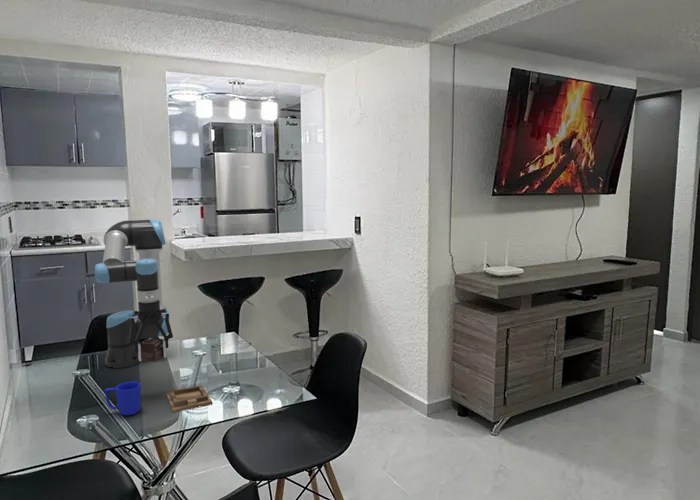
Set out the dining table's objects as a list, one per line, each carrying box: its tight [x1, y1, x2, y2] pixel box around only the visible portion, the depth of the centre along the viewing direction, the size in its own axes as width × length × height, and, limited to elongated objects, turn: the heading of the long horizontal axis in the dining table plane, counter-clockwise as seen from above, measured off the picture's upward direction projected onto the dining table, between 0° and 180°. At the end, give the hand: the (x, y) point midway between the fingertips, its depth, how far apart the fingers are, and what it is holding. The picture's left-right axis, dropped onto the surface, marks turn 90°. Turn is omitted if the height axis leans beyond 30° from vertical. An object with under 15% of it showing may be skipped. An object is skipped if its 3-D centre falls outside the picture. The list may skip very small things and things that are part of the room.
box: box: [139, 337, 164, 363], centre depth 197 cm, size 6×6×7 cm
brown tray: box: [165, 385, 213, 413], centre depth 195 cm, size 16×14×2 cm
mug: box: [104, 380, 142, 416], centre depth 184 cm, size 8×12×10 cm
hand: (152, 358), depth 197 cm, fingers closed on box, 8 cm apart
